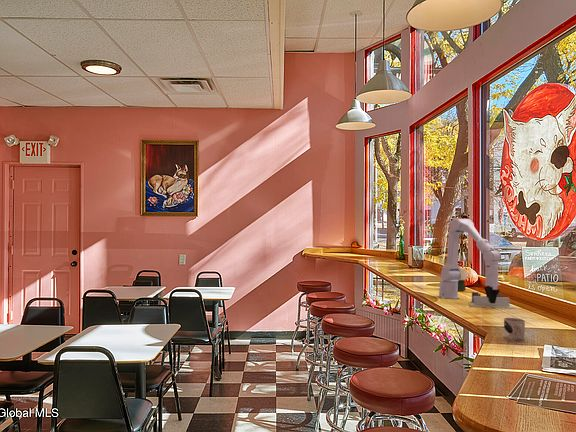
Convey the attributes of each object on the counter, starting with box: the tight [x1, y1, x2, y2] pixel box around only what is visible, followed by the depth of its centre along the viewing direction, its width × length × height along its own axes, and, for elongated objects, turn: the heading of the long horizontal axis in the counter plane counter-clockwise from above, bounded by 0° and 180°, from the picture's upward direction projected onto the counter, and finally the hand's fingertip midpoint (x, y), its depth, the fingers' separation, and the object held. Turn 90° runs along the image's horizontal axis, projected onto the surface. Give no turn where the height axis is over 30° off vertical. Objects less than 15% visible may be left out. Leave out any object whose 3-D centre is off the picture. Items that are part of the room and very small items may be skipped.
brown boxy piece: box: [471, 291, 482, 303], centre depth 239 cm, size 3×6×5 cm, turn 169°
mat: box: [468, 302, 516, 310], centre depth 230 cm, size 20×7×1 cm, turn 79°
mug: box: [503, 317, 526, 342], centre depth 165 cm, size 10×7×7 cm
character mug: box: [458, 268, 471, 291], centre depth 282 cm, size 11×7×13 cm, turn 80°
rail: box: [474, 295, 511, 307], centre depth 230 cm, size 16×3×4 cm, turn 79°
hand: (491, 302), depth 230 cm, fingers open, 5 cm apart
